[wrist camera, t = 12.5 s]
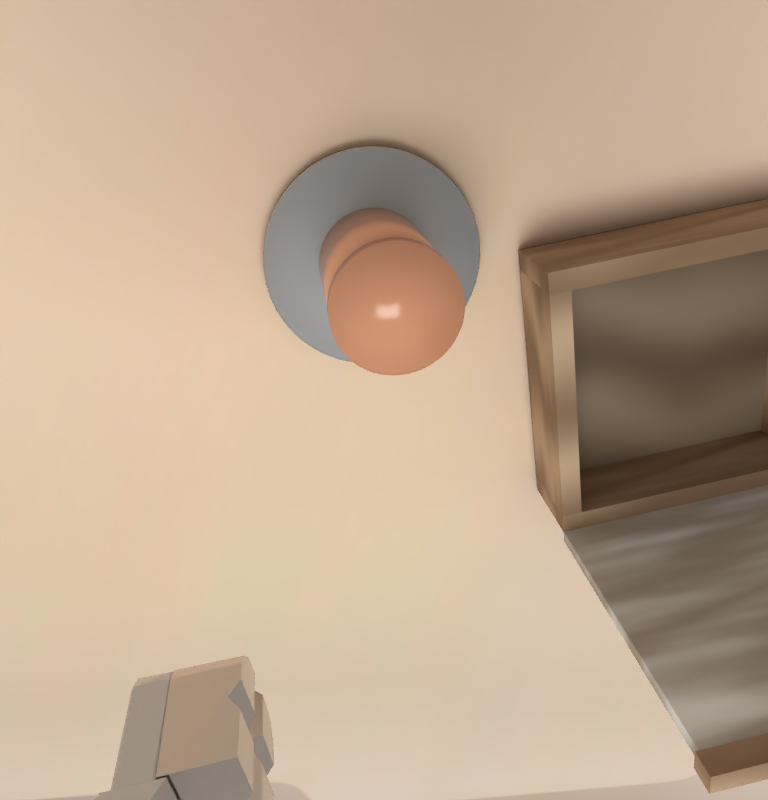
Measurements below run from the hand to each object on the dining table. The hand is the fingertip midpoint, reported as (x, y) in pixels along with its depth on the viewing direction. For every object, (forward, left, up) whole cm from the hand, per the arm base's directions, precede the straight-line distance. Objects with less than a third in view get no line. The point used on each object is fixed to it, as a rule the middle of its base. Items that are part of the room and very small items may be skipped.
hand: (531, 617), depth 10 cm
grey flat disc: (+1, +1, -25) cm, 25 cm away
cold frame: (+9, +15, -25) cm, 30 cm away
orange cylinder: (+1, +1, -24) cm, 24 cm away
